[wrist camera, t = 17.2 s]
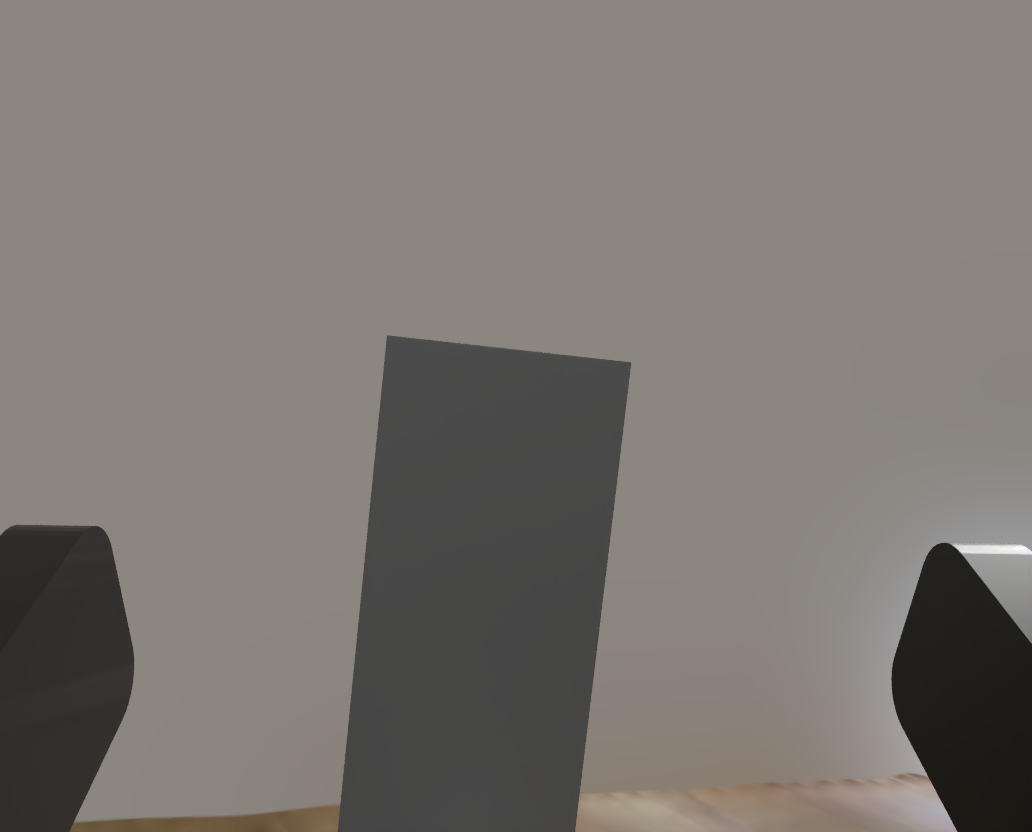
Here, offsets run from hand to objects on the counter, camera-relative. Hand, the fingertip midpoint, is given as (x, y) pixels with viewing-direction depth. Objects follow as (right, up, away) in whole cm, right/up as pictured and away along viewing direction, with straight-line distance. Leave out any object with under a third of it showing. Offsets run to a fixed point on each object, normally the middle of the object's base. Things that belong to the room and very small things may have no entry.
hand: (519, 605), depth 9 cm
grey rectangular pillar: (-4, -26, +39) cm, 47 cm away
